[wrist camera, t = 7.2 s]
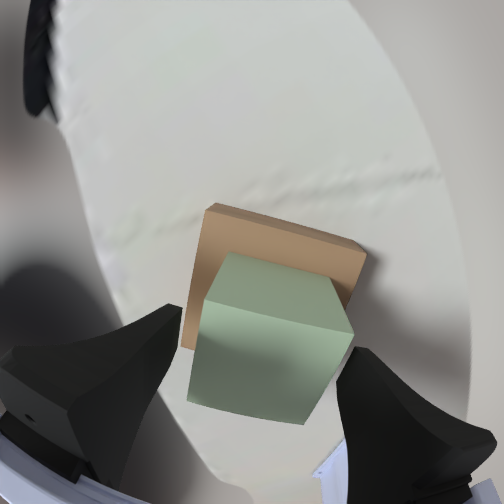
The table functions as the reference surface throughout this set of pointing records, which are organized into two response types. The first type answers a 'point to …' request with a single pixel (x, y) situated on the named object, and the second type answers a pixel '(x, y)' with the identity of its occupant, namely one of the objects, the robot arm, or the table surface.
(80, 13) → the table surface
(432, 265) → the table surface
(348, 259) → the walnut block
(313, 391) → the sage cube
